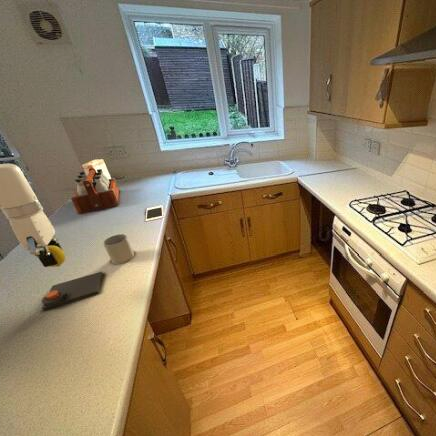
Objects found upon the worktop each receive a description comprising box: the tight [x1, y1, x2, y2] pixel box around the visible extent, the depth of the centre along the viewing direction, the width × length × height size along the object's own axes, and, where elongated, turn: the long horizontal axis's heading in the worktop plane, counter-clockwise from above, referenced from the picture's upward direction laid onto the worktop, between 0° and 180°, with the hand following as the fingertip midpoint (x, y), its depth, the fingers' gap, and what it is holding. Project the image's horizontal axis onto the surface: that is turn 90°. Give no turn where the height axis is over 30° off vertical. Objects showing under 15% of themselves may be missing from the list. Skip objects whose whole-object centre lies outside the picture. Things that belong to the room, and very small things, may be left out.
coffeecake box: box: [81, 158, 112, 182], centre depth 182 cm, size 15×7×20 cm, turn 6°
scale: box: [40, 271, 104, 312], centre depth 86 cm, size 15×12×4 cm
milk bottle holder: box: [70, 168, 120, 214], centre depth 155 cm, size 21×35×19 cm, turn 32°
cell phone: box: [145, 205, 164, 222], centre depth 141 cm, size 9×18×1 cm, turn 26°
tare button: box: [45, 290, 60, 300], centre depth 81 cm, size 3×3×2 cm
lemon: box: [41, 246, 66, 268], centre depth 76 cm, size 6×6×8 cm
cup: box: [102, 233, 135, 265], centre depth 101 cm, size 8×8×10 cm
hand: (54, 259), depth 76 cm, fingers closed on lemon, 5 cm apart
